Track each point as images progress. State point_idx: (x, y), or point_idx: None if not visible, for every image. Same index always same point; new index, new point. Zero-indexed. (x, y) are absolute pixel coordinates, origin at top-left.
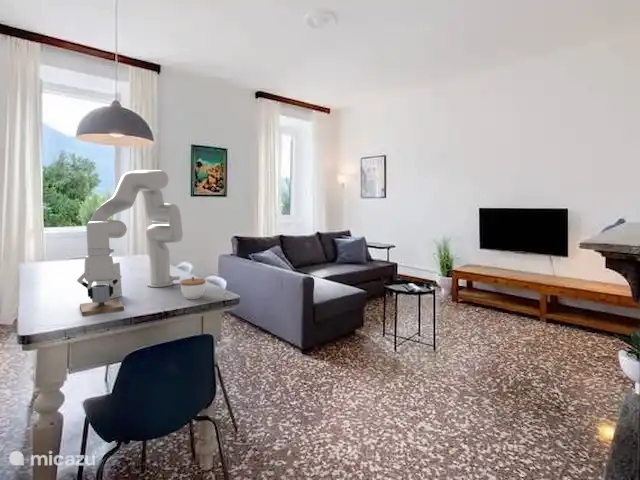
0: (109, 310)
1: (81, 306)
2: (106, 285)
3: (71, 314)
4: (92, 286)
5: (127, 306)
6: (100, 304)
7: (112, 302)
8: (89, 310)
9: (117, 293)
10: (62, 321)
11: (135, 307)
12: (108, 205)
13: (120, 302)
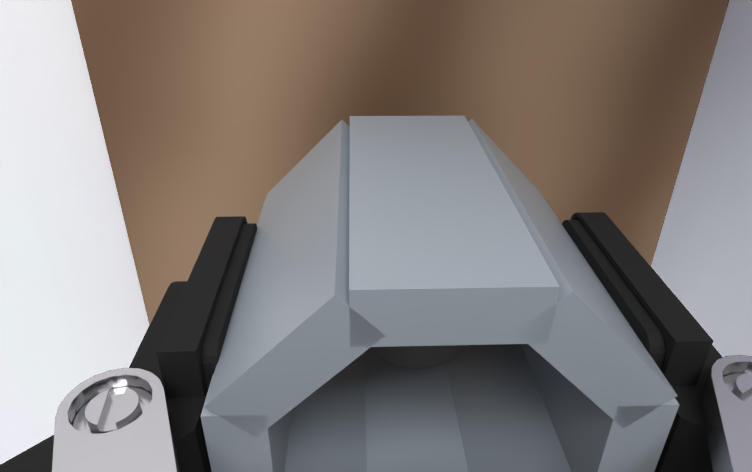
0: None
1: (114, 117)
2: (602, 420)
3: (43, 250)
4: (234, 460)
5: (698, 229)
6: None
7: (577, 119)
8: None
9: None
10: (23, 447)
11: (739, 320)
12: None
13: (668, 187)
